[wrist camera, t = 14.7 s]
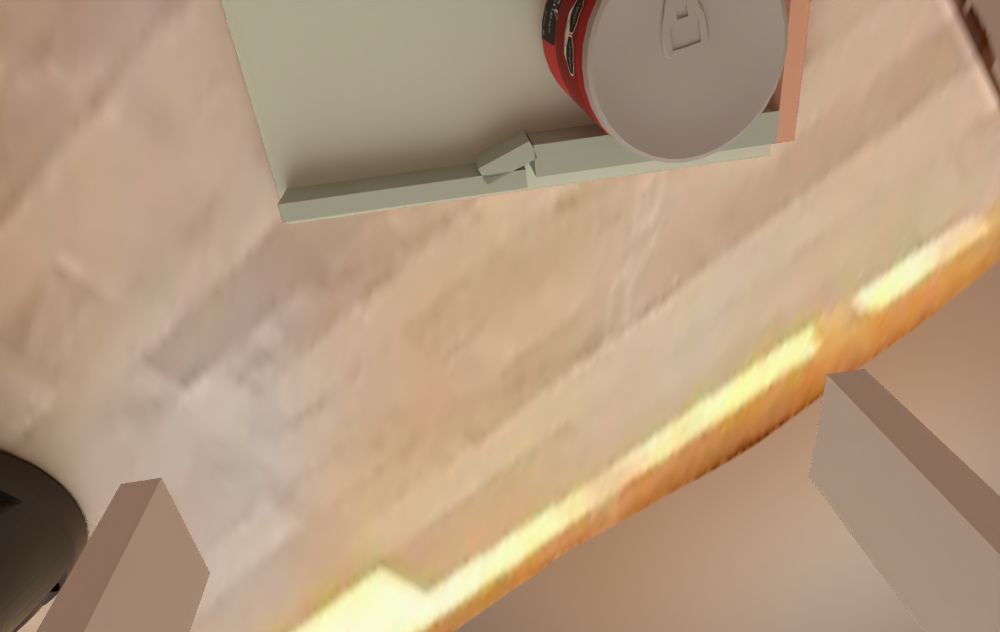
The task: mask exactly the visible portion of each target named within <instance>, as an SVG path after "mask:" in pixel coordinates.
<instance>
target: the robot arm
mask: <svg viewBox="0 0 1000 632" xmlns="http://www.w3.org/2000/svg"><path fill="white" fill-rule="evenodd" d="M809 478H810V479H811V480H812V482H813V483H814V484H815V486H816V487H817V488H818V490H819V491H820V492H821V494H822V495H823V497H824V498H825V499H826V501H827V502H828V503H829V505H830V506H831V507H832V509H833V510H834V511H835V513H836V514H837V515H838V517H839V518H840V520H841V521H842V522H843V523H844V525H845V526H846V528H847V529H848V530H849V532H850V533H851V534H852V536H853V537H854V539H855V540H856V541H857V543H858V544H859V545H860V546H861V548H862V549H863V551H864V552H865V553H866V555H867V556H868V557H869V559H870V560H871V562H872V563H873V564H874V566H875V567H876V568H877V570H878V571H879V572H880V574H881V575H882V576H883V578H884V579H885V580H886V582H887V583H888V584H889V586H890V587H891V589H892V590H893V591H894V592H895V594H896V595H897V597H898V598H899V600H900V601H901V602H902V604H903V605H904V606H905V608H906V609H907V610H908V611H909V613H910V614H911V616H912V617H913V618H914V620H915V621H916V622H917V624H918V625H919V627H920V628H921V629H922V631H923V632H1000V496H999V495H998V494H997V493H996V492H995V491H994V490H993V489H991V487H989V486H988V485H987V484H986V483H985V482H984V481H983V480H982V479H981V478H980V477H979V476H978V475H977V474H976V473H974V472H973V471H972V470H971V469H970V468H969V467H968V466H967V465H966V464H965V463H964V462H963V461H962V460H961V459H960V458H959V457H958V456H956V455H955V454H954V453H953V452H952V451H951V450H950V449H949V448H948V447H947V446H946V445H945V444H944V443H942V441H940V440H939V439H938V438H937V437H936V436H935V435H934V434H933V433H932V432H931V431H930V430H929V429H928V428H927V427H925V425H923V424H922V423H921V422H920V421H919V420H918V419H917V418H916V417H915V416H914V415H913V414H912V413H911V412H909V410H908V409H906V408H905V407H904V406H903V405H902V404H901V403H900V402H899V401H898V400H897V399H896V398H895V397H894V396H893V395H892V394H890V393H889V392H888V391H887V390H886V389H885V388H884V387H883V386H882V385H881V384H880V383H879V382H878V381H877V380H876V379H875V378H873V377H872V376H871V375H870V374H869V373H868V372H867V371H866V370H865V369H861V370H854V371H848V372H842V373H835V374H829V375H827V377H826V383H825V389H824V394H823V401H822V406H821V411H820V418H819V423H818V428H817V434H816V440H815V446H814V451H813V457H812V462H811V468H810V474H809ZM209 574H210V572H209V570H208V568H207V566H206V564H205V562H204V560H203V558H202V556H201V554H200V552H199V551H198V549H197V547H196V545H195V543H194V541H193V539H192V537H191V535H190V533H189V531H188V529H187V527H186V525H185V523H184V521H183V519H182V517H181V515H180V513H179V511H178V509H177V507H176V506H175V504H174V502H173V500H172V498H171V496H170V494H169V492H168V490H167V488H166V486H165V484H164V482H163V480H162V478H158V479H151V480H145V481H138V482H132V483H125V484H121V485H120V487H119V489H118V490H117V492H116V494H115V496H114V497H113V499H112V501H111V503H110V504H109V506H108V508H107V510H106V511H105V513H104V515H103V517H102V518H101V520H100V522H99V524H98V525H97V527H96V529H95V530H94V532H93V534H92V536H91V537H90V539H89V541H88V543H87V528H86V523H85V520H84V518H83V515H82V513H81V511H80V509H79V508H78V506H77V505H76V503H75V502H74V500H73V499H72V498H71V497H70V495H69V494H68V493H67V492H66V491H65V490H64V489H63V488H62V487H61V486H60V485H59V484H57V483H56V482H55V481H54V480H53V479H51V478H50V477H48V476H47V475H46V474H44V473H43V472H41V471H40V470H38V469H36V468H34V467H33V466H31V465H29V464H27V463H25V462H23V461H21V460H19V459H17V458H14V457H12V456H9V455H7V454H4V453H1V452H0V632H17V631H18V630H19V629H20V628H21V627H22V626H23V625H24V624H25V623H27V622H28V621H29V620H30V619H31V618H32V617H33V616H34V615H35V614H36V613H37V612H38V611H39V610H40V609H41V607H42V606H44V605H45V604H47V603H48V602H49V601H50V600H52V599H53V598H54V597H55V596H56V595H57V594H58V595H57V597H56V599H55V600H54V602H53V604H52V606H51V607H50V609H49V611H48V612H47V614H46V616H45V618H44V619H43V621H42V623H41V625H40V626H39V628H38V630H37V632H190V629H191V626H192V623H193V620H194V617H195V614H196V612H197V609H198V606H199V603H200V600H201V597H202V594H203V591H204V589H205V586H206V583H207V580H208V577H209Z"/></svg>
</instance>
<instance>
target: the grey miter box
mask: <svg viewBox="0 0 1000 632" xmlns="http://www.w3.org/2000/svg"><path fill="white" fill-rule="evenodd" d="M546 1H547V0H221V2H222V6H223V9H224V12H225V16H226V19H227V22H228V26H229V29H230V33H231V36H232V39H233V43H234V46H235V49H236V53H237V56H238V59H239V63H240V66H241V70H242V73H243V76H244V80H245V83H246V86H247V90H248V93H249V96H250V100H251V103H252V107H253V110H254V113H255V117H256V120H257V123H258V127H259V130H260V134H261V137H262V140H263V144H264V147H265V150H266V154H267V157H268V160H269V164H270V167H271V171H272V174H273V177H274V181H275V184H276V187H277V191H278V194H279V197H280V201H279V203H278V208H279V211H280V215H281V218H282V221H283V223H284V222H287V224H294V223H301V222H308V221H315V220H322V219H329V218H336V217H343V216H350V215H357V214H364V213H371V212H378V211H385V210H392V209H399V208H406V207H413V206H420V205H427V204H434V203H441V202H448V201H455V200H462V199H469V198H476V197H483V196H490V195H497V194H504V193H511V192H518V191H525V190H532V189H539V188H546V187H553V186H560V185H567V184H574V183H581V182H588V181H595V180H602V179H609V178H616V177H623V176H630V175H637V174H644V173H651V172H658V171H665V170H672V169H679V168H686V167H693V166H700V165H708V164H715V163H722V162H729V161H736V160H743V159H750V158H757V157H764V156H770V147H771V144H775V143H782V142H789V141H794V139H795V130H796V122H797V113H798V105H799V96H800V88H801V80H802V71H803V63H804V54H805V46H806V37H807V29H808V21H809V12H810V4H811V0H784V1H785V8H786V14H787V20H788V46H787V51H786V57H785V62H784V67H783V70H782V73H781V76H780V79H779V81H778V84H777V87H776V89H775V91H774V93H773V95H772V97H771V99H770V100H769V102H768V104H767V106H766V108H765V109H764V110H763V112H762V113H761V114H760V116H759V117H758V118H757V120H756V121H755V122H754V123H753V125H752V126H751V127H750V128H749V129H748V130H746V131H745V132H744V133H743V134H742V135H741V136H740V137H739V138H738V139H737V140H735V141H734V142H732V143H731V144H729V145H728V146H726V147H725V148H723V149H722V150H720V151H718V152H716V153H714V154H711V155H709V156H707V157H704V158H702V159H697V160H693V161H688V162H678V163H665V162H660V161H655V160H649V159H647V158H645V157H642V156H640V155H638V154H635V153H633V152H631V151H629V150H627V149H626V148H625V147H623V146H622V145H620V144H619V143H618V142H616V141H615V140H614V139H613V138H611V137H610V136H609V135H608V134H607V133H606V132H605V131H604V130H603V129H602V128H601V127H600V126H599V125H598V124H597V123H596V122H595V121H594V120H593V119H592V118H591V117H590V116H589V115H588V114H587V113H586V112H585V111H584V110H583V109H582V108H581V107H580V106H579V105H578V104H577V103H576V102H575V101H574V100H573V99H572V98H571V97H570V96H569V95H568V94H567V93H566V92H565V91H564V90H563V89H562V88H561V86H560V85H559V84H558V83H557V81H556V80H555V78H554V76H553V75H552V73H551V71H550V69H549V66H548V63H547V61H546V58H545V55H544V49H543V43H542V19H543V14H544V8H545V4H546Z"/></svg>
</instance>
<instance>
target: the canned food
mask: <svg viewBox="0 0 1000 632" xmlns="http://www.w3.org/2000/svg"><path fill="white" fill-rule="evenodd" d="M542 43H543V49H544V55H545V58H546V61H547V63H548V66H549V69H550V71H551V73H552V75H553V76H554V78H555V80H556V81H557V83H558V84H559V85H560V86H561V88H562V89H563V90H564V91H565V92H566V93H567V94H568V95H569V96H570V97H571V98H572V99H573V100H574V101H575V102H576V103H577V104H578V105H579V106H580V107H581V108H582V109H583V110H584V111H585V112H586V113H587V114H588V115H589V116H590V117H591V118H592V119H593V120H594V121H595V122H596V123H597V124H598V125H599V126H600V127H601V128H602V129H603V130H604V131H605V132H606V133H607V134H608V135H609V136H610V137H611V138H613V139H614V140H615V141H616V142H618V143H619V144H620V145H622V146H623V147H625V148H626V149H627V150H629V151H631V152H633V153H635V154H638V155H640V156H642V157H645V158H647V159H649V160H655V161H660V162H665V163H678V162H688V161H693V160H697V159H702V158H704V157H707V156H709V155H711V154H714V153H716V152H718V151H720V150H722V149H723V148H725V147H726V146H728V145H729V144H731V143H732V142H734V141H735V140H737V139H738V138H739V137H740V136H741V135H742V134H743V133H744V132H745V131H746V130H748V129H749V128H750V127H751V126H752V125H753V123H754V122H755V121H756V120H757V118H758V117H759V116H760V114H761V113H762V112H763V110H764V109H765V108H766V106H767V104H768V102H769V100H770V99H771V97H772V95H773V93H774V91H775V89H776V87H777V84H778V81H779V79H780V76H781V73H782V70H783V67H784V62H785V57H786V51H787V46H788V20H787V14H786V8H785V1H784V0H547V1H546V4H545V8H544V14H543V19H542Z"/></svg>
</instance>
